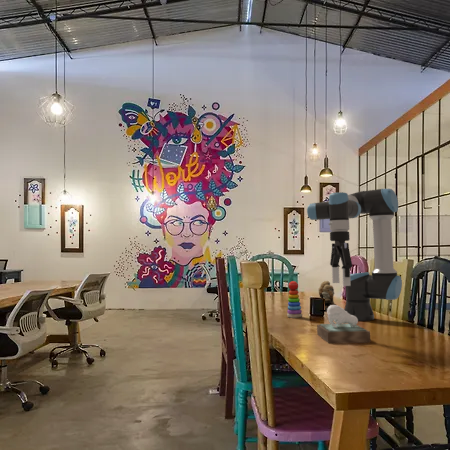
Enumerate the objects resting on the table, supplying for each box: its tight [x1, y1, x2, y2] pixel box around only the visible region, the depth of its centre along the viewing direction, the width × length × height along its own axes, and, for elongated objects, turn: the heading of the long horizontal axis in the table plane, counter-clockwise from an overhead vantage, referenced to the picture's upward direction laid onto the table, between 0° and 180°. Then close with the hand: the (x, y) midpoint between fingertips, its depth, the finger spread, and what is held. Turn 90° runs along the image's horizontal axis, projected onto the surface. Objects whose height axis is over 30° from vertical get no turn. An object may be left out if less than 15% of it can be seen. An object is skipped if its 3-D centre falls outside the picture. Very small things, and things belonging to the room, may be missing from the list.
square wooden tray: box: [316, 323, 371, 344], centre depth 163 cm, size 16×16×4 cm
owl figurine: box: [318, 280, 337, 312], centre depth 242 cm, size 18×12×17 cm, turn 164°
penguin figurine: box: [326, 304, 359, 328], centre depth 163 cm, size 6×8×12 cm
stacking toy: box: [286, 280, 303, 319], centre depth 217 cm, size 8×8×19 cm
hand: (341, 284), depth 164 cm, fingers open, 13 cm apart
